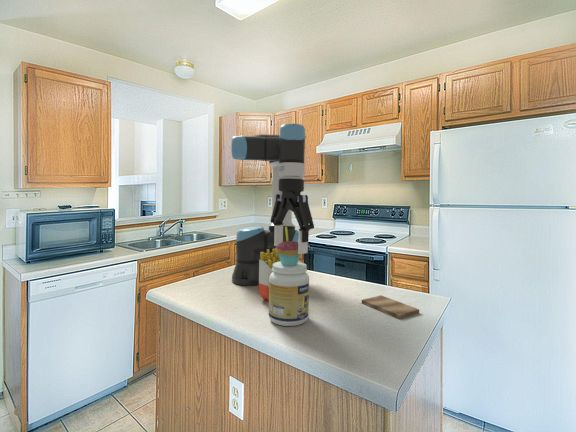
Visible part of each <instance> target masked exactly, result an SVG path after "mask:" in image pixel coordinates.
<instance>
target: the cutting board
mask: <svg viewBox="0 0 576 432" xmlns="http://www.w3.org/2000/svg"><path fill="white" fill-rule="evenodd" d="M361 304H363V305H365V306H367V307H370V308H372V309H374V310H377V311H380V312H381V313H384V314H387V315H388V316H391V317H392V318H393V317H394V318H395V319H398V320H401V319H404V318H408V317H410V316H414V315H417V314H419V313H420V309H419V308H417V307H413V306H412V305H409V304H406V303H403V302H401V301H398V300H395V299H392V298H390V297H387V296H384V295H381V294H380V295H375V296H373V297H372V296H371V297H367V298H364V299H361Z"/></svg>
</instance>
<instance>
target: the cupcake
mask: <svg viewBox="0 0 576 432" xmlns="http://www.w3.org/2000/svg"><path fill="white" fill-rule="evenodd" d="M285 226H286V224H285ZM285 232H286V241H284V242H282V243H280V244H278V245H277V247H276V253H277V254H278V256H279V258H280V261H281V264H282V265H284V266H296V265H297V263H298V262H299V259H300V257H301V255H302V254H298V242H295V241H288V231H287V227H285Z"/></svg>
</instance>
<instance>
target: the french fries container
mask: <svg viewBox="0 0 576 432" xmlns="http://www.w3.org/2000/svg"><path fill="white" fill-rule="evenodd" d="M276 262H280V258H279V256H278V254H277V253H276V248H274V249H272V253H270V250H269V249H268V250H267V253H264V252H260V260H259V285H258V295H259V296H260V297H261V298H262V299H264V300H266V301H268V302H269V277H270V275H271V273H272V272H273V271H272V268H273V263H276Z"/></svg>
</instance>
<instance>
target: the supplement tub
mask: <svg viewBox="0 0 576 432" xmlns="http://www.w3.org/2000/svg"><path fill="white" fill-rule="evenodd" d="M307 268H308V266H307V264H306V263H304V262H301V261H300V262H299V261H298V263H297V265H296V266H284V265H282V264H281V261H280V262H276V263H273V268H272V271H273V272H272V273H271V275H270V277H269V301H268V318H269V321H271V322H272V323H273V324H276V325H279V326H283V327H295V326H296V327H297V326H299V325H302V324H304V323H306V322H307V321H308V319H309V306H310V305H309V304H310V303H309V301H310V299H309V298H310V296H309V295H310V275H309V274H308V273H307V271H308V269H307Z"/></svg>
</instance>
